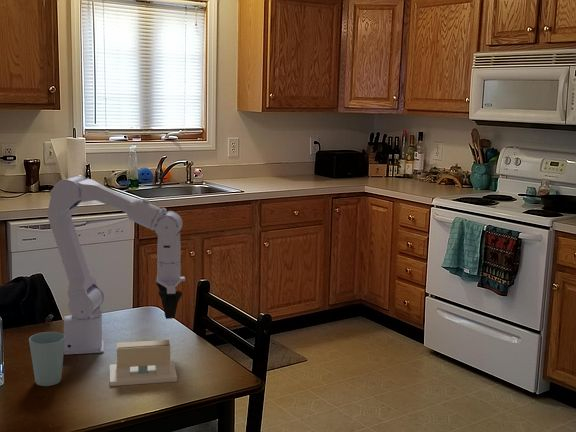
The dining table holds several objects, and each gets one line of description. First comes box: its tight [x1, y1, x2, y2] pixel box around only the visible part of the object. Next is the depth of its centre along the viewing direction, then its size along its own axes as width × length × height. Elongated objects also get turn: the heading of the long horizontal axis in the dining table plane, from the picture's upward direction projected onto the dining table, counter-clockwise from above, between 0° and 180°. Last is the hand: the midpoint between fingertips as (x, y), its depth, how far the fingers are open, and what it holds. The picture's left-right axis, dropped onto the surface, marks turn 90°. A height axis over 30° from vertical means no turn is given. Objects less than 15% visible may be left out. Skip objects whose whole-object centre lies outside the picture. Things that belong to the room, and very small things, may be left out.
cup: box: [28, 331, 65, 387], centre depth 155 cm, size 8×8×10 cm
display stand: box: [109, 358, 178, 387], centre depth 161 cm, size 15×10×3 cm, turn 104°
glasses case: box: [116, 339, 171, 368], centre depth 160 cm, size 12×4×5 cm, turn 104°
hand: (168, 313), depth 173 cm, fingers open, 7 cm apart
